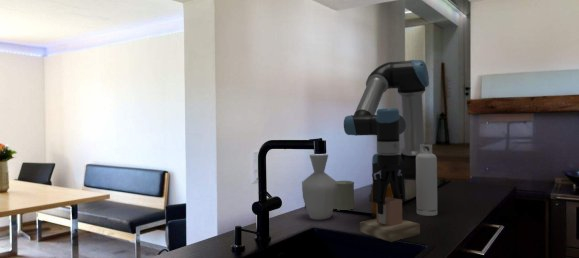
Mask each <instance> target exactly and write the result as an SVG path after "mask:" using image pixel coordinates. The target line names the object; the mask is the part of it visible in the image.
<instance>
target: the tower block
mask: <svg viewBox="0 0 579 258" xmlns="http://www.w3.org/2000/svg"><path fill="white" fill-rule="evenodd" d="M380 201H381V200H380ZM384 204H385V205H386V224H384V225H388V226H393V225H397V224H401V223H402V219H403V202H402V200H401V199H396V198H391V197H386V198H385V202H384ZM376 211H377V223H379V214H378V206H377V204H376ZM380 224H381V223H380Z"/></svg>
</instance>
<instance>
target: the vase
mask: <svg viewBox="0 0 579 258" xmlns="http://www.w3.org/2000/svg"><path fill="white" fill-rule="evenodd" d="M316 154H317V153H316ZM316 154H313V153H312V154H309V158H310V161H311V165H312V168H313V169H312V170H313V172H312V173H311V174H310V175H308V176H307V177H306V178H305V179H304V180H303V181H301V190H302V198H303V203H304V206H305V208H306V211H307V214H308V216H309V218H310V219H311V220H319V221H320V220H326V219H327V220H328V219H329V218H331V217H332V215H333V212H334V205H335V201H336V196H337V182H336V181H337V180H335V179H334V178H332V177H331V176H330V175H329V174H327V173H326V172H325V169H326V166H327V161H328V158H329V154H325V153H322V154H323V155H316Z"/></svg>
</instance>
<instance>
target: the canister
mask: <svg viewBox="0 0 579 258" xmlns="http://www.w3.org/2000/svg"><path fill="white" fill-rule="evenodd" d="M383 182H384V181H383ZM370 187H371V189H370V192H371V191H372V200H373V183H372V184H371V186H370ZM386 197H391V198H393V194H392V190H391V186H390V183H389V185H388V186H387V191H386V196H385V198H386ZM371 217H373V219H376V218H377V211H376V203H374V202H373V201H372V202H371Z"/></svg>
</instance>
